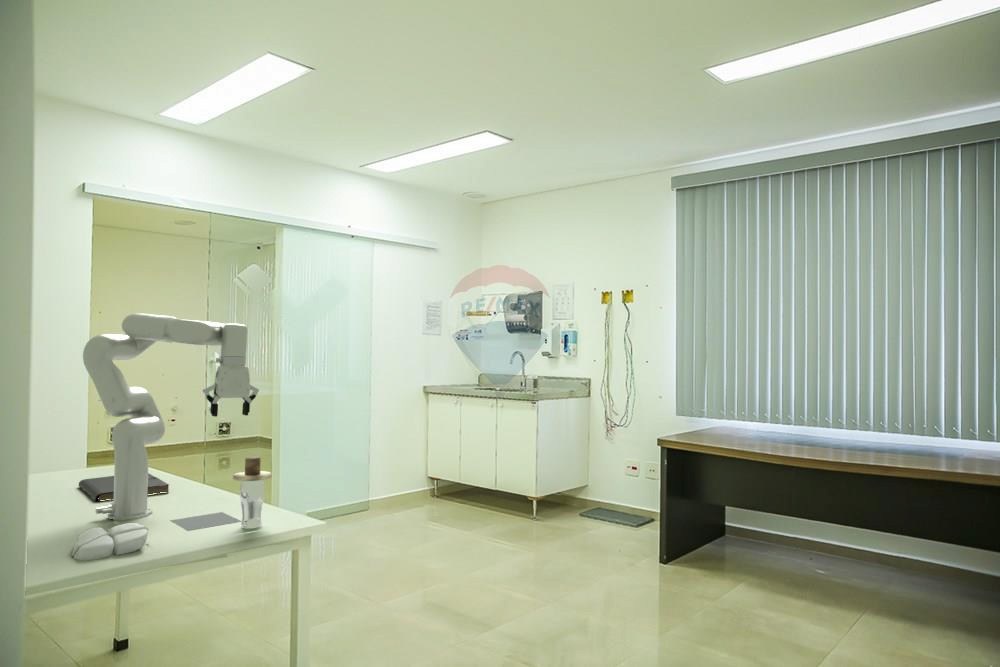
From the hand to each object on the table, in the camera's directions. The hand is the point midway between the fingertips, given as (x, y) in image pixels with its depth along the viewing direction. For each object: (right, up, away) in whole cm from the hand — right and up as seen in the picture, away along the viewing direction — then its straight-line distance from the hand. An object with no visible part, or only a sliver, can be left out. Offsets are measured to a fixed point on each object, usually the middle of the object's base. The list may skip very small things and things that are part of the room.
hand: (230, 415), depth 204 cm
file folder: (-58, -35, +41) cm, 79 cm away
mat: (-6, -33, -4) cm, 34 cm away
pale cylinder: (+11, -33, -10) cm, 36 cm away
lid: (+11, -18, -9) cm, 23 cm away
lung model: (-21, -33, -29) cm, 49 cm away
